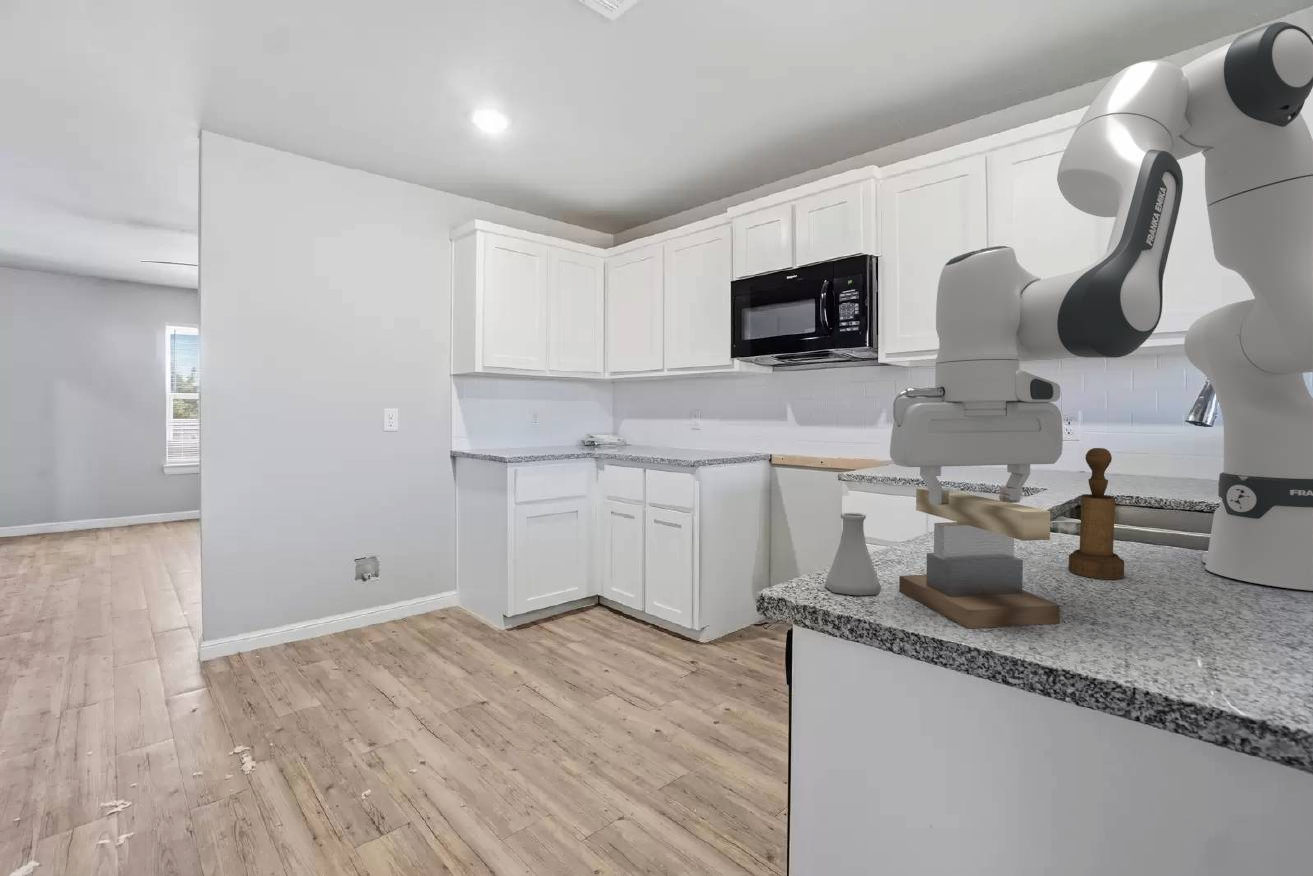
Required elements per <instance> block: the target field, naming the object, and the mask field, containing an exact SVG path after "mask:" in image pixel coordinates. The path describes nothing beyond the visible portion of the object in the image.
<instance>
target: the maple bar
mask: <svg viewBox="0 0 1313 876" xmlns="http://www.w3.org/2000/svg"><path fill="white" fill-rule="evenodd" d="M943 489H944V488H943ZM944 490H946V489H944ZM948 490H949V489H948ZM915 491H916V493H915V498H916V499H915V504H916V505H915V511H916V512H917V511H918V512H922V513H925V514H928V515H932V516H935V517H938V518H943V519H946V520H950V521H952V522H959V523H963V524H966V525H970V526H973V527H977V528H980V529H984V530H987V531H991V532H994V533H998V534H1001V535H1005V536H1008V537H1012V538H1014V540H1019V541H1022V542H1025V541H1026V542H1027V541H1028V542H1030V541H1032V542H1033V541H1050V539H1051V511H1050V510H1047V509H1042V508H1036V507H1033V506H1032V507H1031V506H1026V505H1024V504H1023V505H1022V504H1018V503H1008V502H1004V501H1000V499H999V500H997V499H993V498H988V497H984V496H978V495H973V494H969V493H964V492H959V491H954V490H949V497H948V499H949V504H948V505H933V504H930V502H929V489H928V488H927V487H917V488H916V490H915Z"/></svg>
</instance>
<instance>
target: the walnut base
mask: <svg viewBox="0 0 1313 876" xmlns="http://www.w3.org/2000/svg"><path fill="white" fill-rule="evenodd" d="M926 577H927V574H911V575H910V574H909V575H899V581H898V582H899V586H898V588H899V590H898V591H899V592H901V593H902V594H904V595H906V596H907V597H909V598H912V599H913V600H915V601H916V602H919V603H920V604H922V605H924V606H926V607H928V608H930V609H931V610H934V611H936V612H937V613H939V614H941V615H943V616H944V617H946V618H948V619H950V620H952V621H954V622H955V623H957V624H959V625H961V626H963V627H965V628H966V629H979V628H980V629H981V628H982V629H983V628H985V629H986V628H999V627H1014V626H1015V627H1016V626H1032V625H1034V626H1035V625H1047V624H1048V625H1050V624H1060V623H1061V604H1059V603H1056V602H1054V601H1051V600H1049V599H1045V598H1043V597H1041V596H1038V595H1036V594H1033V593H1030V592H1028V591H1026V590H1023V589H1022V594H1004V595H985V596H966V597H950V596H948V595H946V594H943V593H941V592H939V591H937V590H935V589H933V588H931V587H929V586H927V585H926Z"/></svg>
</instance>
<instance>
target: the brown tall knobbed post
mask: <svg viewBox="0 0 1313 876" xmlns="http://www.w3.org/2000/svg"><path fill="white" fill-rule="evenodd" d="M1112 457H1113V456H1112V454H1111V452H1110V450H1108V449H1107V448H1104V447H1094V448H1090V449H1089V450H1088V451H1087V452H1086V453H1085V462H1086V463H1087V466H1088V467H1089V468H1090V470H1091V477H1090V478H1089V479H1088V481H1087V482H1088V486H1089V489H1090V492H1091V494H1081V496H1080V527H1079V528H1080V531H1079V533H1080V534H1079V549H1078V548H1077V549H1075V550H1074V551H1073V552H1071V553H1070V554H1069V555H1068V565H1067V566H1068V571H1069V572H1070V573H1073V574H1076V575H1077V576H1078V575H1079V576H1082V577H1087V578H1093V579H1099V580H1100V579H1101V580H1119V579H1124V577H1125V560H1124V559H1123V558H1121V557H1120V556H1119V555H1118V554H1117V553H1115V552H1114V542H1115V541H1114V536H1115V535H1114V534H1115V533H1114V532H1115V511H1116V497H1115V496H1110V495H1105V493H1106V490H1107V488H1108V484H1109V480H1108V479H1107V478H1106V477H1105V473H1106V470H1107V468H1108V467H1109V466H1110V465H1111V463H1112V460H1113V459H1112Z"/></svg>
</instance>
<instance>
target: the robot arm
mask: <svg viewBox="0 0 1313 876" xmlns="http://www.w3.org/2000/svg"><path fill="white" fill-rule="evenodd" d="M1312 89H1313V38H1312V36H1311V35H1310V34H1309V33H1308V32H1307V31H1306V30H1305V29H1303V28H1302V27H1299V26H1298V25H1295V24H1292V23H1289V22H1285V21H1279V22H1278V21H1277V22H1273V23H1270V24H1266V25H1264V26H1261V27H1257V28H1255V29H1253V30H1250V31H1248V32H1246V33H1242V34H1240V35H1239V36H1237V37H1236V38H1235V39H1234V40H1233V41H1232V42H1230V43H1227V44H1225V45H1223V46H1221V47H1218V48H1216V49H1214V50H1212V51H1210V52H1208V53H1206V54H1203V55H1201V56H1200V57H1198V58H1196V59H1194V60H1191V61H1190V62H1188V63H1186V64H1185V65H1183V66H1182V67H1179V66H1177V65H1176V64H1174V63H1171V62H1169V61H1165V60H1157V59H1156V60H1155V59H1154V60H1152V59H1151V60H1145V61H1140V62H1137V63H1133V64H1132V65H1129V66H1127V67H1125V68H1123V69H1122V70H1120V71H1119V72H1117V73H1116V74H1115V75H1114V76H1112V78H1110V80H1108V82H1107V83H1106V84H1105V85H1104V87H1103V88H1102V89H1101V90H1100V91H1099V92H1098V94H1097V95H1096V97H1095V98H1094V100H1093V101H1091V104H1090V105H1089V107H1088V108H1087V110H1086V111H1085V113H1084V114H1083V116H1082V117H1081V119H1080V121H1079V122H1078V125H1077V126H1076V128H1075V130H1074V132H1073V134H1072V136H1071V138H1070V140H1069V142H1068V144H1067V145H1066V148H1065V150H1064V152H1063V154H1062V157H1061V159H1060V162H1059V165H1058V169H1057V170H1058V171H1057V175H1056V177H1057V178H1056V181H1057V185H1058V189H1059V191H1060V192H1061V193H1060V194H1061V195H1062V196H1063V198H1064V200H1066V201H1067V202H1068V203H1069V204H1070V205H1071V206H1073V207H1074V208H1075V209H1077V210H1079V211H1081V212H1083V213H1085V214H1088V215H1092V216H1096V217H1100V218H1115V219H1114V221H1113V227H1112V229H1111V234H1110V237H1109V240H1108V244H1107V248H1106V252H1105V254H1104V255H1102V257H1100V258H1099V259H1098V260H1097V261H1095V262H1093V263H1092V264H1090V265H1088V266H1086V267H1084V268H1081V269H1080V270H1079V269H1078V270H1077V271H1074V272H1069V273H1065V274H1064V273H1063V274H1060V275H1056V276H1052V277H1047V278H1042V279H1041V277H1039V276H1036V275H1034V274H1032V273H1031V272H1029V271H1028V270H1026V269H1025V268H1024V267H1023V266H1021V264H1020V263H1019V262H1018V260H1017V255H1016V252H1015V250H1014V248H1013V247H1011V246H1006V245H1005V246H1004V245H998V246H991V247H986V248H981V249H979V250H972V251H969V252H966V253H963V254H959V255H957V256H955V257H953V258H951V259H949V260H948V261H947V262H946V263H945V264H944V266H943V267H942V270H941V273H940V276H939V280H938V286H937V292H936V306H935V329H936V333H937V337H938V343H939V346H938V352H937V356H936V358H935V376H934V377H935V381H934V382H935V383H934V384H935V385H934V386H935V387H926V388H925V387H924V388H917V387H908V388H905V389H904V391H901V392H899V393H898V394H897V395H896V397H895V398H894V400H893V404H892V417H893V423H892V429H891V436H890V437H891V438H890V444H889V445H890V446H889V456H890V459H891V461H892V462H893V463H894V465H895V466H899V467H902V468H903V467H904V468H905V467H906V468H919V475H920V477H921V479H922V480H923V483H924V485H925V486H926V488H928V489H929V502H930V504H933V505H948V504H949V499H948V497H949V489H945V490H944V488H943V487H942V485H941V484H940V483H941V482H939V479H938V477H941V476H942V468H943V467H971V466H972V467H973V466H974V467H976V466H977V467H980V466H981V467H983V466H1007V467H1006V468H1007V469H1006V470H1007V473H1011V474H1010V476H1009V478H1008V480H1007V482H1006V484H1005V486H999V488H998V489H999V490H998V491H999V492H998V493H999V496H998V497H999V501H1004V502H1008V503H1013V504H1018V503H1020V502H1021V491H1022V490H1021V489H1022V488H1023V487H1024V485H1025V483H1026V482H1027V480H1028V478H1029V477H1030V475H1031V465H1055V463H1057V462H1058V460H1059V459H1060V458H1061V456H1062V453H1063V445H1064V444H1063V433H1064V432H1063V421H1062V419H1063V417H1062V414H1061V410H1060V408H1059V407H1058V406H1057V405H1056V404H1054V403H1053V402H1057V401H1059V400H1060V398H1061V386H1060V385H1059V384H1058V383H1057V382H1055V381H1051V380H1049V379H1045V378H1043V377H1040V376H1037V375H1035V374H1032V373H1030V372H1028V371H1024V370H1023V369H1022V370H1021V369H1020V366H1021V365H1020V362H1033V361H1034V362H1035V361H1052V360H1053V361H1055V360H1063V359H1073V358H1074V359H1075V358H1096V359H1097V358H1098V359H1099V358H1100V359H1101V358H1105V359H1106V358H1110V359H1111V358H1113V359H1114V358H1115V359H1116V358H1122V357H1125V356H1127V355H1131V354H1132V353H1133V352H1134V351H1136V350H1138V349H1139V348H1140V347H1141V346H1142V345H1143V344H1145V342H1146V341H1147V340H1148V339H1149V338H1150V337H1151V336H1152V334H1153V333H1154V332H1155V330H1156V328H1157V327H1158V325H1159V322H1160V321H1161V318H1162V313H1163V297H1164V296H1163V295H1164V294H1163V283H1164V275H1165V271H1166V267H1167V263H1168V257H1169V253H1170V249H1171V246H1172V242H1173V237H1174V233H1175V229H1176V225H1177V221H1178V216H1179V211H1180V207H1181V201H1182V196H1183V187H1184V179H1183V178H1184V177H1183V170H1182V168H1181V166H1180V163H1179V161H1178V160H1181V159H1184V158H1185V159H1186V158H1187V157H1191V156H1192V155H1196V154H1198V153H1201V154H1202V156H1203V157H1204V158H1205V160H1204V161H1205V162H1204V163H1205V164H1204V188H1205V189H1204V191H1205V201H1206V207H1207V209H1206V210H1207V216H1208V221H1209V227H1210V235H1211V242H1212V246H1213V247H1212V248H1213V253H1214V254H1213V255H1214V258H1215V260H1216V261H1217V263H1218V264H1219V265H1220V266H1222V267H1223V268H1224V269H1228V270H1231V271H1233V272H1235V273H1237V274H1238V275H1240V276H1241V278H1242V279H1243V280H1244V281H1245V283H1246V284H1247V285H1248V287H1249V289H1250V290H1251V292H1252V295H1253V297H1254V298H1253V299H1247V300H1242V301H1236V302H1232V303H1230V304H1227V305H1224V306H1221V307H1220V308H1217V309H1214V310H1213V311H1210V312H1208V313H1206V314H1203V316H1200V317H1199V318H1197V319H1196V320H1195V321H1194V322H1192V323H1191V325H1190V327H1189V328H1188V330H1187V331H1186V334H1185V337H1184V342H1183V343H1184V352H1185V355H1186V357H1187V358H1188V360H1189V362H1190V363H1191V365H1193V366H1194V367H1195V368H1196V369H1198V370H1199V371H1200V372H1202V373H1203V374H1204V376H1205V377H1206V378H1207V379H1208V381H1209V384H1210V385H1211V387H1212V389H1213V391H1214V394H1215V396H1216V399H1217V401H1218V404H1219V408H1220V412H1221V417H1222V421H1223V422H1222V423H1223V472H1220V473H1219V475H1218V476H1219V477H1218V481H1217V487H1218V488H1217V489H1218V490H1217V491H1218V493H1217V494H1218V497H1219V498H1221V502H1220V504H1219V506H1218V507H1217V508H1216V509H1215V511H1214V515H1213V518H1212V525H1211V532H1210V539H1209V543H1208V550H1207V553H1204V554H1203V553H1202V557H1201V562H1202V563H1204V564H1205V566H1204V569H1205V570H1207V571H1208V572H1210V573H1212V574H1216V575H1219V576H1222V577H1225V578H1229V579H1235V580H1238V581H1244V582H1248V583H1251V584H1252V583H1253V584H1259V585H1265V586H1272V587H1278V588H1285V589H1293V590H1303V591H1311V592H1312V591H1313V396H1312V395H1311V393H1310V391H1309V389H1308V387H1307V385H1306V381H1305V378H1304V374H1305V373H1306V374H1307V373H1313V138H1312V134H1311V132H1310V130H1309V127H1308V125H1307V123H1306V121H1305V119H1304V117H1303V115H1302V113H1301V111H1302V109H1303V108H1304V105H1305V102H1306V100H1307V99H1308V98H1309V95H1310V93H1311V92H1312ZM903 396H905V397H903Z"/></svg>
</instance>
